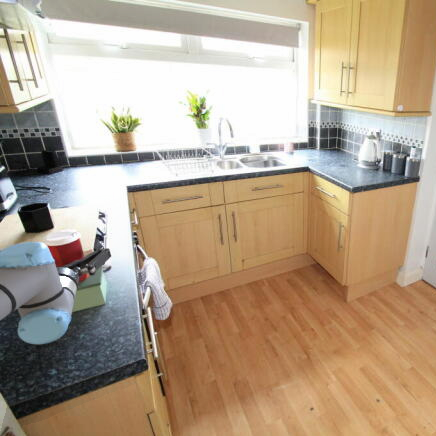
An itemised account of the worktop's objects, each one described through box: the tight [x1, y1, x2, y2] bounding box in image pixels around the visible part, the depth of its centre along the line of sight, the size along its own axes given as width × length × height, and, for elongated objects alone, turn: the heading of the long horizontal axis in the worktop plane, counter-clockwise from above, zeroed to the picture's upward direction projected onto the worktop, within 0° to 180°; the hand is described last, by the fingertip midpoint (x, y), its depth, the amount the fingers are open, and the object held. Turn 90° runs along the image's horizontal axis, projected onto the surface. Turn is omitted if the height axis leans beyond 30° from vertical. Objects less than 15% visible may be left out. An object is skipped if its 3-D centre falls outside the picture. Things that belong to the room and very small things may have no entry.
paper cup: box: [43, 228, 89, 283], centre depth 88 cm, size 8×8×14 cm
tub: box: [72, 264, 108, 313], centre depth 92 cm, size 12×11×8 cm
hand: (69, 248), depth 90 cm, fingers open, 13 cm apart
